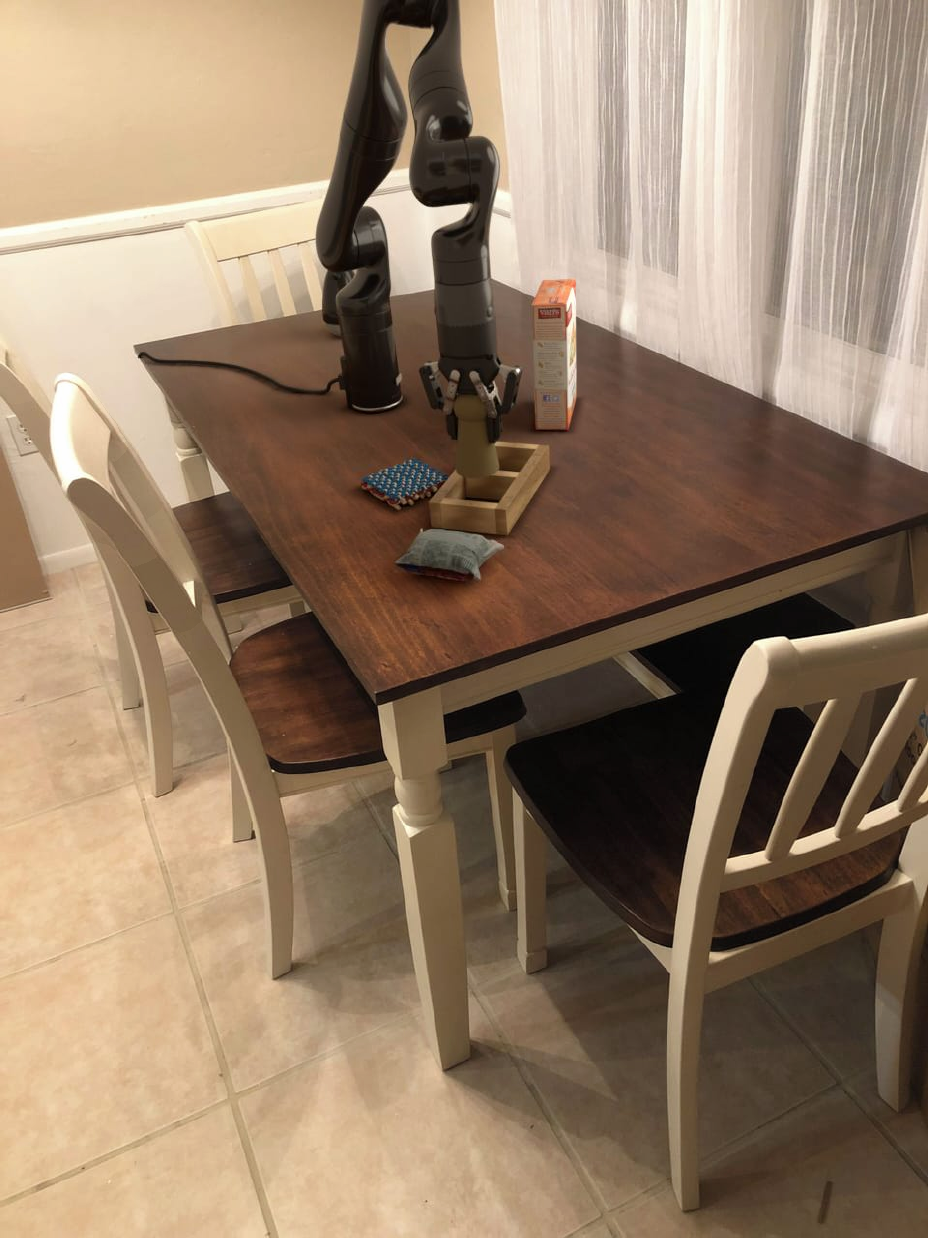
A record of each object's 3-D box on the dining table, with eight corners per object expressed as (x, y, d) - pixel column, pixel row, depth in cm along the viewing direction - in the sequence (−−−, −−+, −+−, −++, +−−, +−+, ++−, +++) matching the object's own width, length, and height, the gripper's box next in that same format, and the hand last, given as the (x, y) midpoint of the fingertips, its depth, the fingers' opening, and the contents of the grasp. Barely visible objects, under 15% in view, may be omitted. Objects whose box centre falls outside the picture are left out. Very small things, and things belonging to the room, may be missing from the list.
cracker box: (571, 431, 156) (567, 302, 144) (534, 431, 157) (528, 303, 146) (579, 399, 167) (577, 276, 156) (545, 399, 169) (540, 278, 157)
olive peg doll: (504, 460, 133) (500, 385, 127) (491, 479, 129) (486, 402, 122) (464, 457, 135) (457, 382, 129) (449, 476, 130) (442, 399, 124)
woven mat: (358, 489, 145) (356, 477, 144) (415, 467, 150) (414, 455, 149) (395, 512, 138) (393, 499, 137) (454, 488, 143) (453, 475, 141)
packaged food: (424, 546, 129) (420, 514, 126) (505, 558, 124) (503, 525, 122) (395, 579, 123) (390, 546, 120) (479, 594, 118) (476, 560, 115)
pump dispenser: (320, 342, 206) (308, 270, 198) (332, 326, 215) (320, 257, 206) (366, 340, 205) (355, 267, 196) (376, 325, 213) (366, 254, 205)
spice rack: (431, 527, 133) (428, 502, 131) (481, 463, 149) (479, 439, 147) (507, 535, 129) (505, 509, 127) (550, 469, 145) (549, 445, 143)
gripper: (528, 306, 120) (533, 432, 130) (424, 303, 125) (436, 424, 135) (510, 325, 115) (517, 455, 124) (401, 321, 119) (416, 446, 129)
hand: (475, 438), depth 129 cm, fingers closed on olive peg doll, 5 cm apart
